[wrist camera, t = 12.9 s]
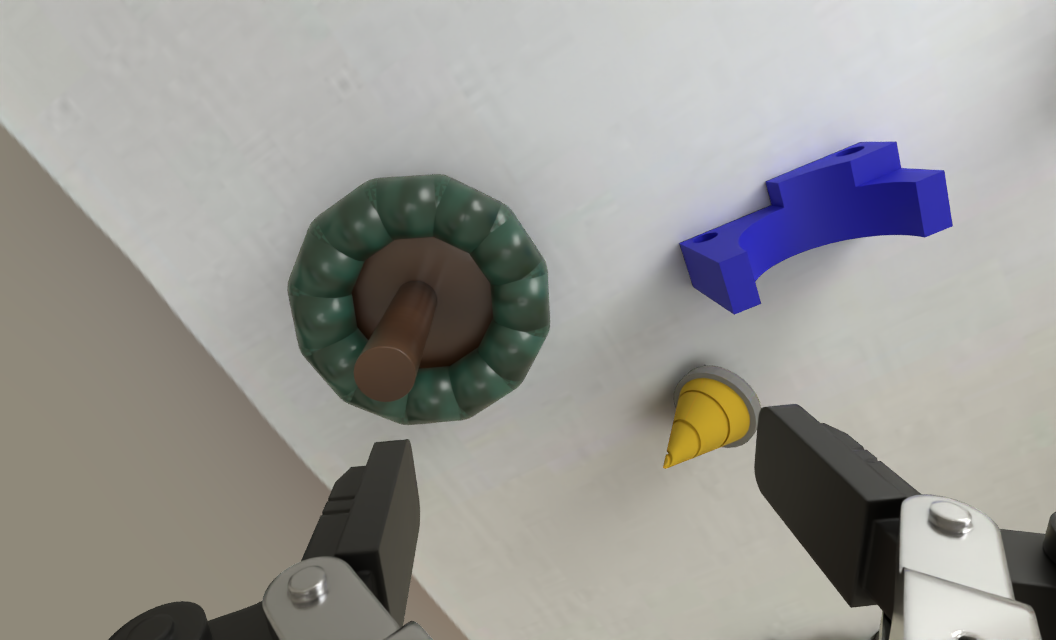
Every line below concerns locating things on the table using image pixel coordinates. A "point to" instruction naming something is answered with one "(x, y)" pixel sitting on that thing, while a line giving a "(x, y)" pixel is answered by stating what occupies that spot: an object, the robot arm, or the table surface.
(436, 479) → the table surface
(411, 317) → the stand
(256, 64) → the table surface
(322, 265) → the green ring
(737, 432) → the yellow cone
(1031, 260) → the table surface
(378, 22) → the table surface
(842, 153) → the cable clip
